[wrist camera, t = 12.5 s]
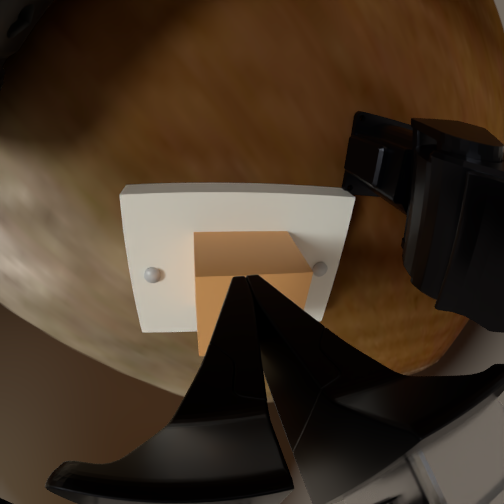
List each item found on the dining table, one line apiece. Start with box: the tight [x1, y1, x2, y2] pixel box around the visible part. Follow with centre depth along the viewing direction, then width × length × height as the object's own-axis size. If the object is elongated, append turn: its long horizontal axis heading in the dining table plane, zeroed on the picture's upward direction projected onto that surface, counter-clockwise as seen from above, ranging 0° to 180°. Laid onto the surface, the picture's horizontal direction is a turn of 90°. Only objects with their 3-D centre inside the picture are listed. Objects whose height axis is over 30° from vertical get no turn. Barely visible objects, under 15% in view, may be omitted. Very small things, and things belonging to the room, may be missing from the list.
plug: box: [194, 231, 313, 356], centre depth 20 cm, size 6×6×7 cm
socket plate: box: [120, 183, 355, 332], centre depth 22 cm, size 16×12×2 cm
